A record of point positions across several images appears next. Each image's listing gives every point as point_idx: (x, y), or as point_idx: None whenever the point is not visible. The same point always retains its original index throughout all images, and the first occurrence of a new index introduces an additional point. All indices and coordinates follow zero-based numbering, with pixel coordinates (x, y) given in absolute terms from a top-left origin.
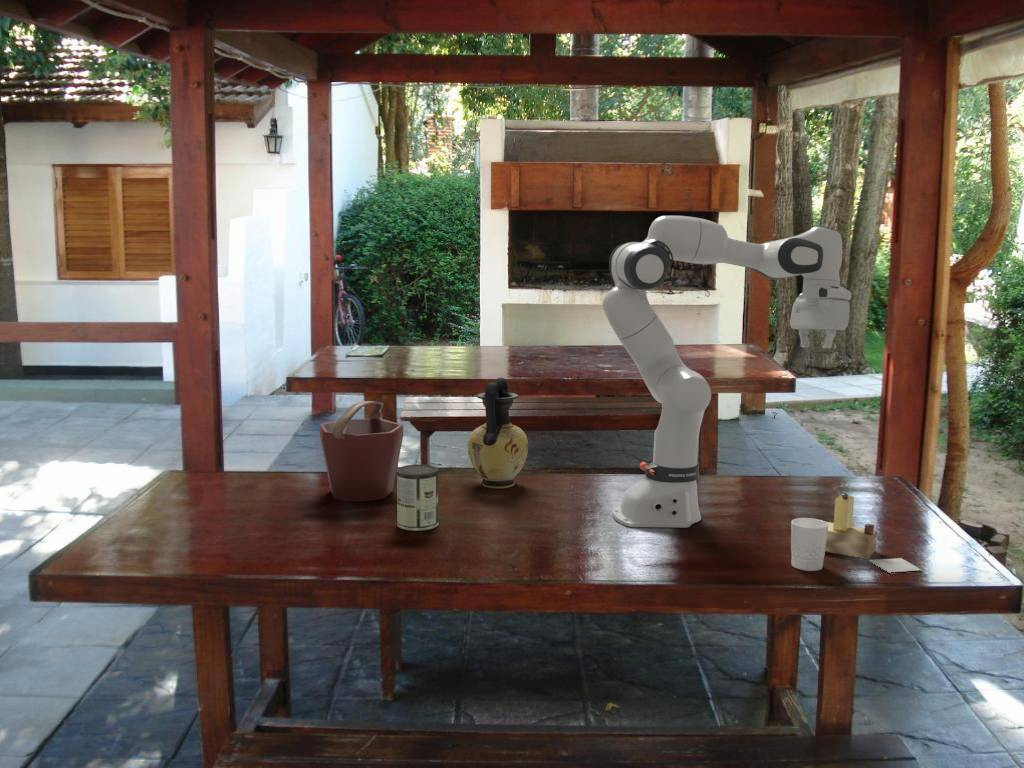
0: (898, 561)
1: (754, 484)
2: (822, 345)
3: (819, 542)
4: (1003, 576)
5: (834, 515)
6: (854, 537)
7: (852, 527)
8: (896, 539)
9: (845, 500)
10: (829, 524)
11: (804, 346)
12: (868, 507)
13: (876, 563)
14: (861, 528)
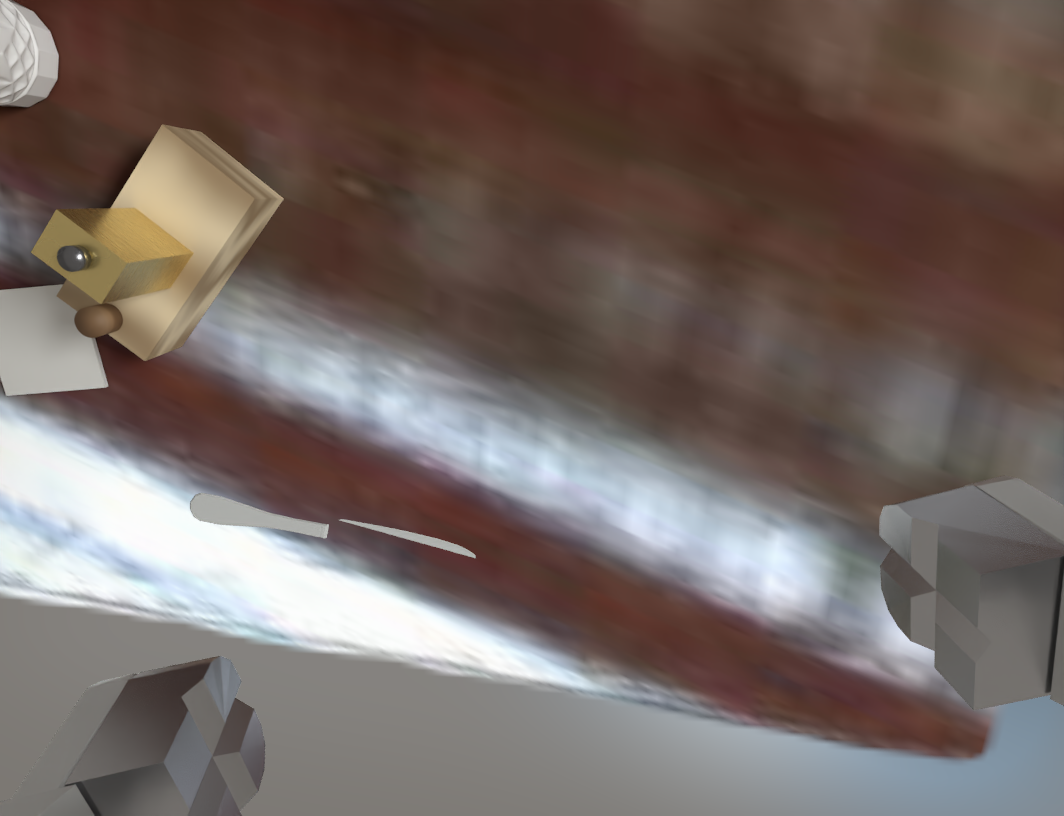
0: (72, 364)
1: (1013, 238)
2: (202, 674)
3: None
4: (3, 582)
5: (100, 209)
6: None
7: (172, 291)
8: (302, 460)
9: (37, 243)
10: (202, 222)
11: (886, 513)
12: (642, 528)
13: (45, 290)
14: (164, 318)
